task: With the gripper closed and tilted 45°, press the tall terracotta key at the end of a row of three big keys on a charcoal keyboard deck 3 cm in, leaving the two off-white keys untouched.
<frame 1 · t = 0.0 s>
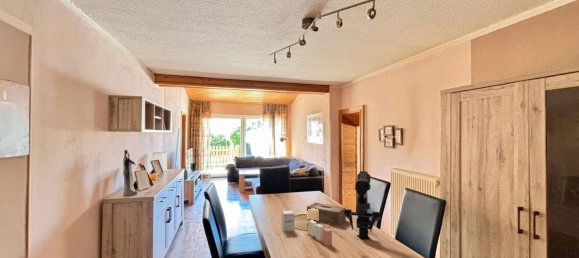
hand: (361, 230, 139), 15 cm above the table, tool tilted 35°, fingers open, 9 cm apart
terracotta key: (327, 236, 156), point 5 cm above the table, slide at 0.0 cm
keyboard deck: (318, 241, 163), on the table
far key: (312, 228, 170), point 5 cm above the table, slide at 0.0 cm
tissue box cover: (326, 220, 203), on the table
supplement box: (288, 231, 180), on the table
middle key: (319, 232, 163), point 5 cm above the table, slide at 0.0 cm
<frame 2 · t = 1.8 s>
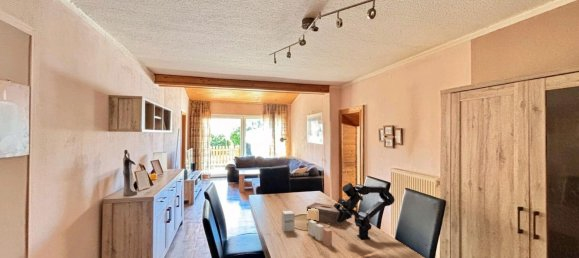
hand: (338, 222, 160), 13 cm above the table, tool tilted 45°, fingers closed
nothing on the table moved.
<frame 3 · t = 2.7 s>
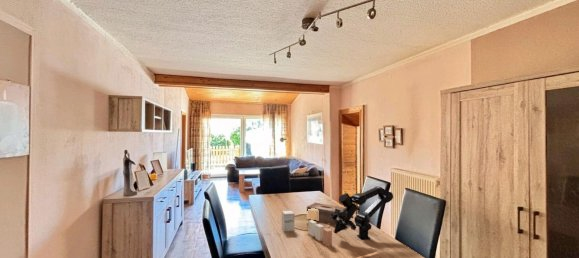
hand: (334, 232, 158), 7 cm above the table, tool tilted 45°, fingers closed
nothing on the table moved.
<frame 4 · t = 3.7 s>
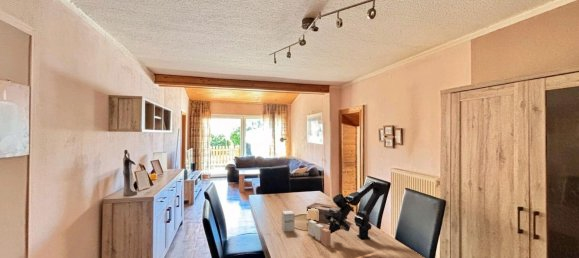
hand: (328, 233, 156), 7 cm above the table, tool tilted 45°, fingers closed, pressing on terracotta key
terracotta key: (325, 237, 155), point 5 cm above the table, slide at 1.0 cm, touching gripper
everything else where it was.
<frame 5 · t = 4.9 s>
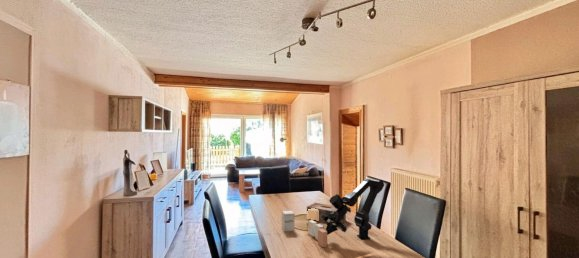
hand: (325, 235, 155), 7 cm above the table, tool tilted 45°, fingers closed
terracotta key: (322, 237, 154), point 5 cm above the table, slide at 3.3 cm
everything else where it was.
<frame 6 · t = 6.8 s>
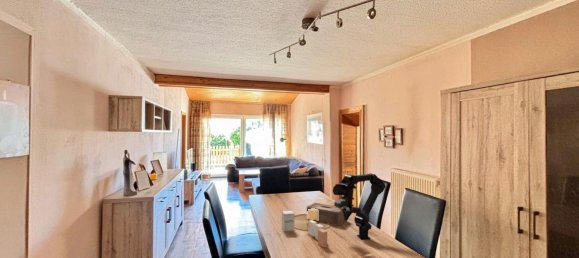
hand: (345, 221, 162), 12 cm above the table, tool pointing down, fingers closed
nothing on the table moved.
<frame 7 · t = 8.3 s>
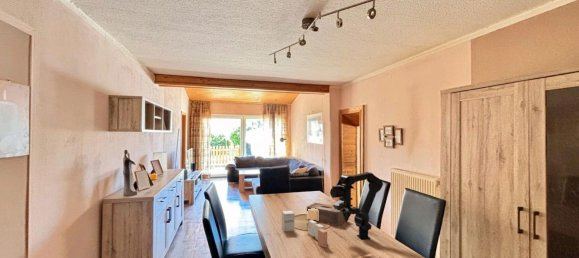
hand: (346, 221, 163), 12 cm above the table, tool pointing down, fingers closed
nothing on the table moved.
at the end: terracotta key slide at 3.3 cm; middle key slide at 0.0 cm; far key slide at 0.0 cm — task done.
